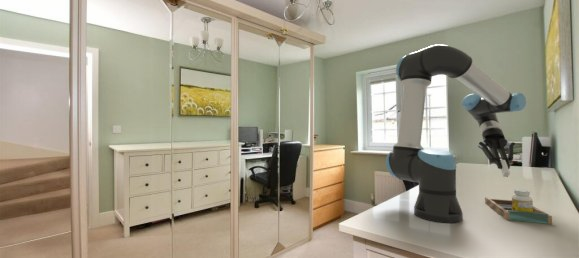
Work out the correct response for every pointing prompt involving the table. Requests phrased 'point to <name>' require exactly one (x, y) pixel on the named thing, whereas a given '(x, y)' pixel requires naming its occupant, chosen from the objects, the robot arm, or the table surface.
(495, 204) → the wooden tray
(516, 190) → the supplement bottle
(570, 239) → the table surface
